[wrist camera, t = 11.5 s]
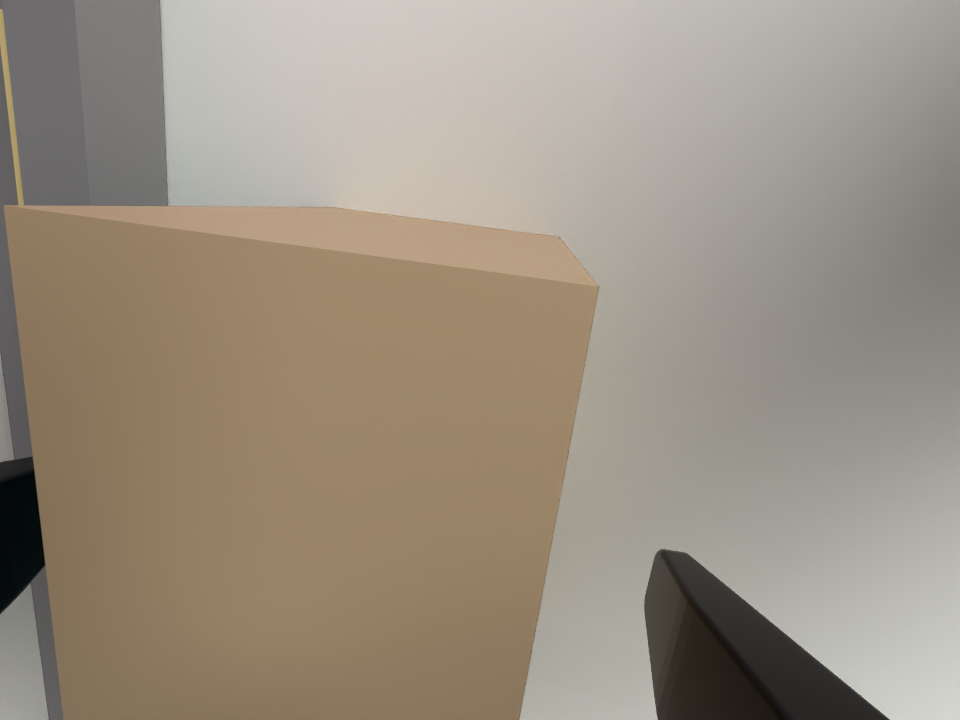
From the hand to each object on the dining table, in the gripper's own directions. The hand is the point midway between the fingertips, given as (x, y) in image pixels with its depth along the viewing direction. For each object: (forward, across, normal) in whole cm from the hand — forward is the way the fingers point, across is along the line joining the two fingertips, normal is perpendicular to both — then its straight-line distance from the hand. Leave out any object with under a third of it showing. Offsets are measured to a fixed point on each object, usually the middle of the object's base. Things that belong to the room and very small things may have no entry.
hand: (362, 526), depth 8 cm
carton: (+4, 0, 0) cm, 4 cm away
